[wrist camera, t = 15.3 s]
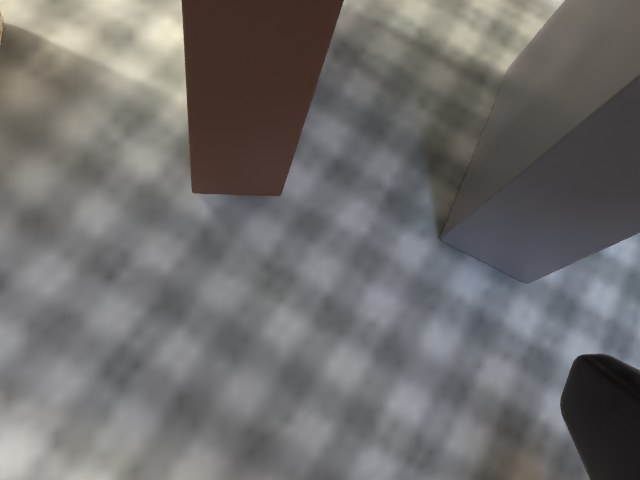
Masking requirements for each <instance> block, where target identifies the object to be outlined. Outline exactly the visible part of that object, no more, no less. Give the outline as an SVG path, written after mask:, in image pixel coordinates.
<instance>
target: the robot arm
mask: <svg viewBox="0 0 640 480" xmlns="http://www.w3.org/2000/svg"><path fill="white" fill-rule="evenodd" d="M560 407H561V413H562V416H563V419H564V421H565V423H566V425H567V428H568V430H569V432H570V435H571V437H572V439H573V441H574V444H575V446H576V448H577V450H578V453H579V455H580V457H581V460H582V462H583V464H584V466H585V469H586V471H587V473H588V475H589V478H590V480H640V370H638V369H636V368H634V367H632V366H630V365H628V364H626V363H624V362H622V361H620V360H618V359H616V358H614V357H612V356H609V355H606V354H586V355H581V356H578V357H577V358H576V359H575V360H574V362H573V364H572V367H571V370H570V373H569V376H568V379H567V381H566V384H565V387H564V390H563V393H562V396H561V401H560Z"/></svg>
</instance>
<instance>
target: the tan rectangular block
mask: <svg viewBox="0 0 640 480" xmlns="http://www.w3.org/2000/svg"><path fill="white" fill-rule="evenodd" d="M343 1H344V0H182V15H183V33H184V52H185V71H186V89H187V108H188V127H189V145H190V164H191V182H192V192H193V193H200V194H233V195H265V196H280V195H281V193H282V190H283V187H284V184H285V181H286V178H287V175H288V172H289V169H290V165H291V162H292V159H293V156H294V153H295V150H296V147H297V144H298V141H299V137H300V134H301V131H302V128H303V125H304V122H305V119H306V116H307V113H308V110H309V106H310V103H311V100H312V97H313V94H314V91H315V88H316V85H317V82H318V79H319V75H320V72H321V69H322V66H323V63H324V60H325V57H326V54H327V51H328V48H329V44H330V41H331V38H332V35H333V32H334V29H335V26H336V23H337V20H338V17H339V13H340V10H341V7H342V4H343Z"/></svg>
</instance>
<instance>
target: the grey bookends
mask: <svg viewBox="0 0 640 480" xmlns="http://www.w3.org/2000/svg"><path fill="white" fill-rule="evenodd" d="M638 233H640V0H565V1H564V2H563V3H562V5H561V6H560V7H559V8H558V9H557V11H556V12H555V13H554V14H553V15H552V17H551V18H550V19H549V20H548V21H547V23H546V24H545V25H544V26H543V27H542V29H541V30H540V31H539V32H538V33H537V35H536V36H535V37H534V38H533V39H532V41H531V42H530V43H529V44H528V45H527V47H526V48H525V49H524V50H523V51H522V53H521V54H520V55H519V56H518V57H517V58H516V60H515V61H514V62H513V63H512V64H511V66H510V67H509V68H508V70H507V73H506V75H505V78H504V80H503V83H502V85H501V88H500V90H499V92H498V95H497V97H496V100H495V102H494V105H493V107H492V110H491V112H490V115H489V117H488V120H487V122H486V125H485V127H484V130H483V132H482V135H481V137H480V140H479V142H478V145H477V147H476V150H475V152H474V155H473V157H472V160H471V162H470V165H469V167H468V169H467V172H466V174H465V177H464V179H463V182H462V184H461V187H460V189H459V192H458V194H457V197H456V199H455V202H454V204H453V207H452V209H451V212H450V214H449V217H448V219H447V222H446V224H445V227H444V229H443V232H442V234H441V237H440V240H441V241H443V242H445V243H447V244H449V245H451V246H453V247H455V248H457V249H459V250H461V251H463V252H464V253H466V254H468V255H470V256H472V257H474V258H476V259H478V260H480V261H482V262H484V263H486V264H488V265H490V266H492V267H494V268H496V269H498V270H500V271H502V272H504V273H506V274H508V275H510V276H512V277H514V278H516V279H518V280H520V281H522V282H524V283H526V284H528V283H531V282H533V281H535V280H537V279H539V278H542V277H544V276H546V275H548V274H550V273H552V272H555V271H557V270H559V269H561V268H563V267H566V266H568V265H570V264H572V263H574V262H576V261H579V260H581V259H583V258H585V257H587V256H590V255H592V254H594V253H596V252H598V251H600V250H603V249H605V248H607V247H609V246H611V245H614V244H616V243H618V242H620V241H622V240H624V239H627V238H629V237H631V236H633V235H635V234H638Z"/></svg>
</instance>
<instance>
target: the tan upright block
mask: <svg viewBox="0 0 640 480" xmlns="http://www.w3.org/2000/svg"><path fill="white" fill-rule="evenodd" d="M3 22H4V19H3V17H2V14H1V12H0V46H1V38H2V30H3Z"/></svg>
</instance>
